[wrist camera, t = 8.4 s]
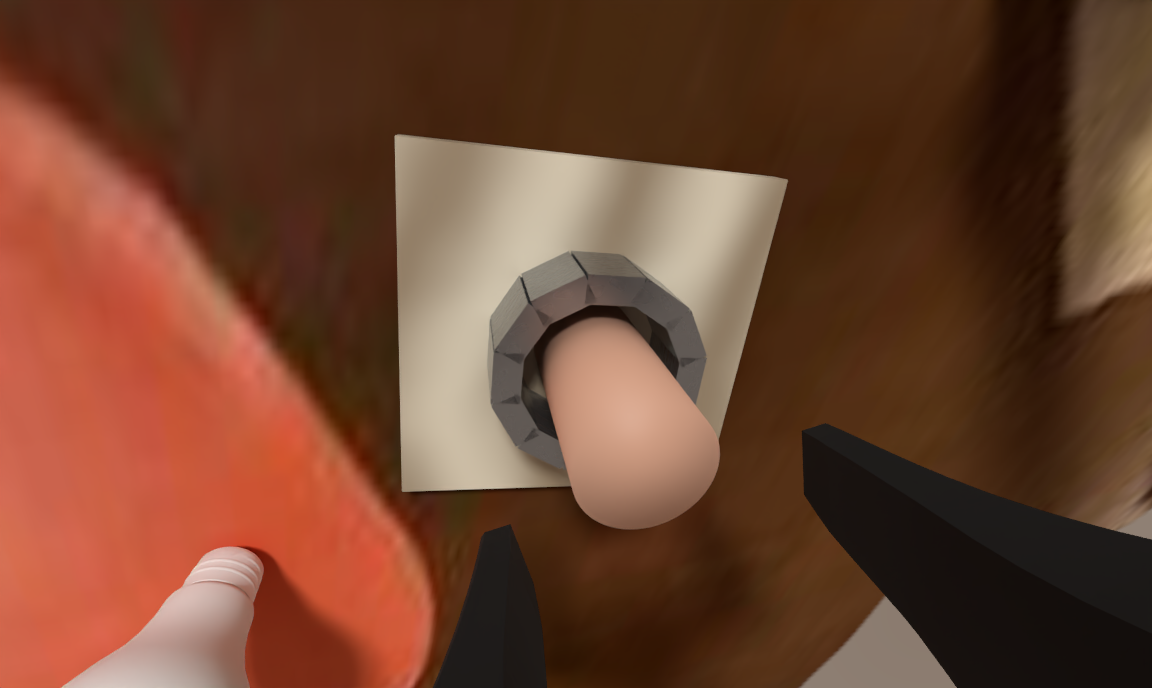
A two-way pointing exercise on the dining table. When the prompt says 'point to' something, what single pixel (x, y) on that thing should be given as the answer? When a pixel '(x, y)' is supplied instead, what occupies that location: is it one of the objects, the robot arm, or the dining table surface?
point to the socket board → (525, 226)
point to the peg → (623, 421)
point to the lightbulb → (190, 632)
